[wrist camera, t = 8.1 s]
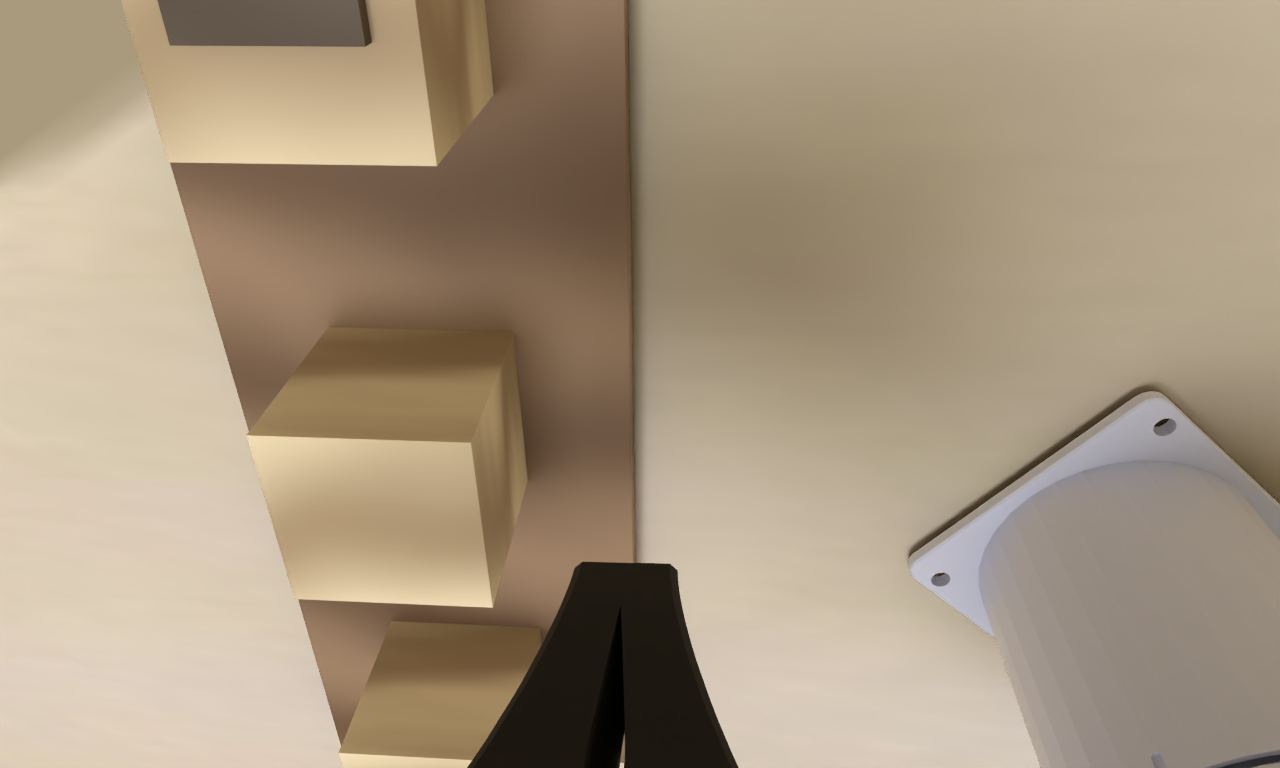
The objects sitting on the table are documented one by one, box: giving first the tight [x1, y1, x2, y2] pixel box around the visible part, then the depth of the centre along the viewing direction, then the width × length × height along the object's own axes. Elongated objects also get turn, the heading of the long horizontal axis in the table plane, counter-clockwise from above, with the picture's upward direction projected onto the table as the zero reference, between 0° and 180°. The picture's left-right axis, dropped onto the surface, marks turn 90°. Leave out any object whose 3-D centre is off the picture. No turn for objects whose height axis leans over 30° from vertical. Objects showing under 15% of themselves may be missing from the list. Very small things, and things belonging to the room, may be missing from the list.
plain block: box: [246, 327, 528, 608], centre depth 21 cm, size 4×4×4 cm
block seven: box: [339, 621, 542, 768], centre depth 26 cm, size 4×4×5 cm
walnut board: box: [170, 0, 636, 763], centre depth 23 cm, size 28×10×1 cm, turn 1°
